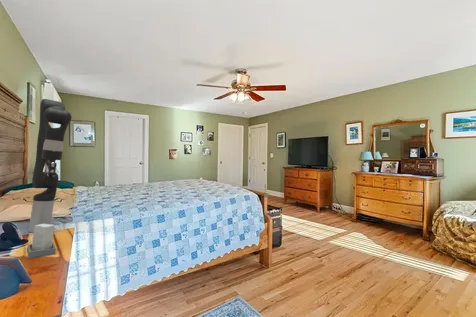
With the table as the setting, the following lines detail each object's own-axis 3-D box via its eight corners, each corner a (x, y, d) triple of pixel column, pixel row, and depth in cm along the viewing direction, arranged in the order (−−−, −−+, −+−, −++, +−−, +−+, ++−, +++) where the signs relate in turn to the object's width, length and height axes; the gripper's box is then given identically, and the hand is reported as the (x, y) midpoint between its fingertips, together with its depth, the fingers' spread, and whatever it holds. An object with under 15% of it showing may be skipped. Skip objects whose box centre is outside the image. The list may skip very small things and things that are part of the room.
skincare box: (51, 251, 103) (55, 224, 103) (42, 254, 98) (46, 227, 99) (39, 249, 103) (43, 223, 104) (30, 252, 99) (34, 225, 100)
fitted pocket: (26, 250, 101) (27, 244, 101) (52, 246, 107) (52, 241, 107) (28, 258, 94) (29, 252, 94) (55, 254, 100) (55, 248, 100)
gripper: (41, 148, 112) (36, 181, 111) (44, 149, 102) (39, 184, 101) (60, 150, 117) (55, 181, 116) (65, 151, 107) (60, 185, 106)
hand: (48, 183), depth 109 cm, fingers open, 8 cm apart
